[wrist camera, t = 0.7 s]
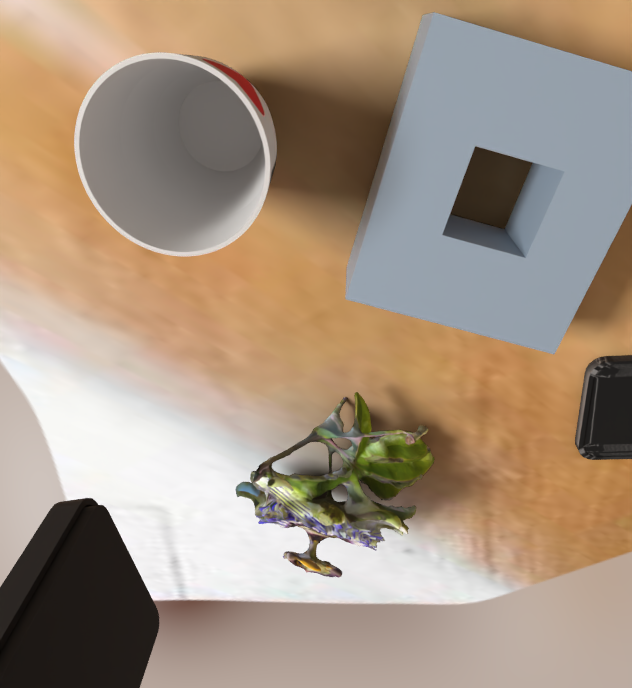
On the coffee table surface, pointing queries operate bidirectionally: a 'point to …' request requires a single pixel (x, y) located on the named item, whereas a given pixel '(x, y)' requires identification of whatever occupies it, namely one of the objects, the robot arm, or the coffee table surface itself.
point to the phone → (606, 409)
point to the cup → (176, 152)
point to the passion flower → (358, 464)
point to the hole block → (533, 201)
